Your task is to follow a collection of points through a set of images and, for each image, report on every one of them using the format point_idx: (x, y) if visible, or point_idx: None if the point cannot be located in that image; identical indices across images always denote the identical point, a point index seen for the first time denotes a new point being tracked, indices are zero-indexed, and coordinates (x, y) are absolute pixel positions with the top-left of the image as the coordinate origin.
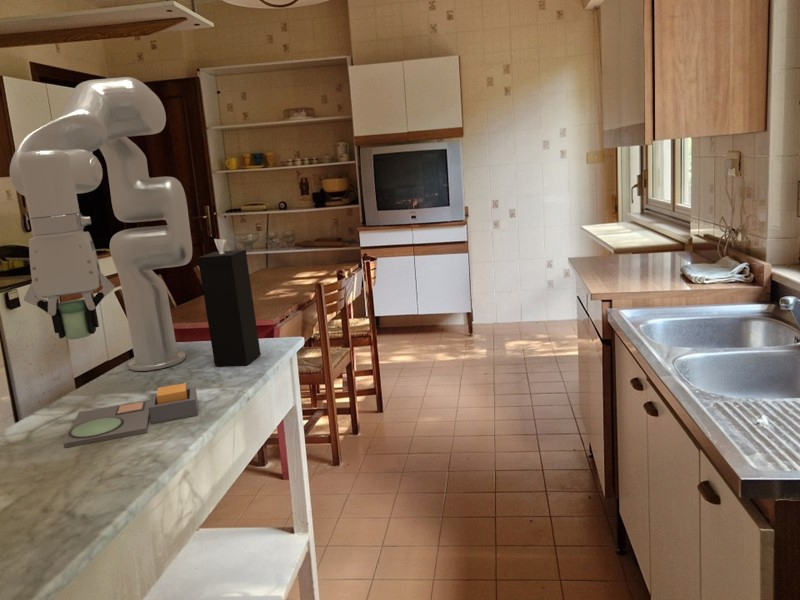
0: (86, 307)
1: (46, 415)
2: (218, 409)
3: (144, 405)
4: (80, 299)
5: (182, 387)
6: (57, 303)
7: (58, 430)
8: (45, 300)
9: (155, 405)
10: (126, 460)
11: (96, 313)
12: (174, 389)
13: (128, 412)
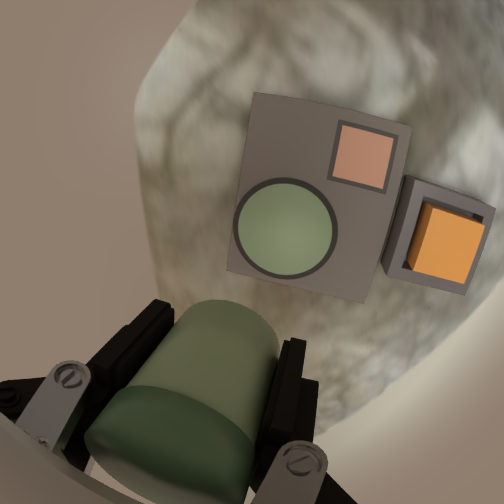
0: (251, 485)
1: (192, 44)
2: (485, 277)
3: (392, 165)
4: (204, 477)
5: (469, 254)
6: (71, 422)
7: (215, 157)
8: (15, 418)
9: (401, 272)
10: (309, 375)
11: (311, 431)
12: (454, 254)
13: (354, 186)
